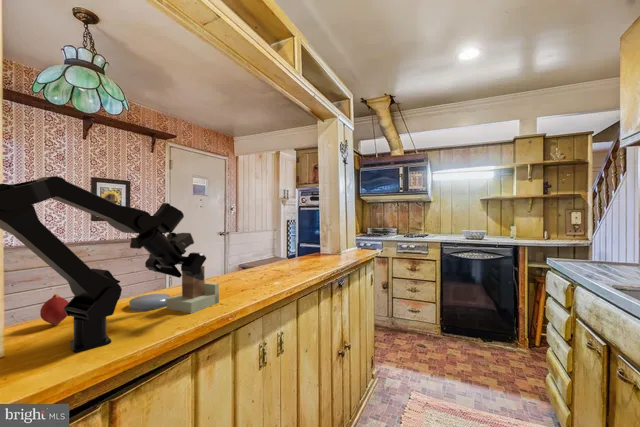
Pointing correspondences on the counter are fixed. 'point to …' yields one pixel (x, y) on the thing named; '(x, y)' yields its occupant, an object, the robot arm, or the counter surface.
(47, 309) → the onion
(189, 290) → the walnut block
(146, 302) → the disc
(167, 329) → the counter surface
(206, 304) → the ledge
